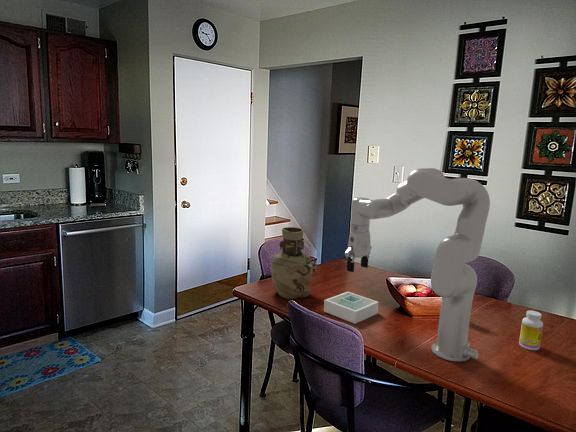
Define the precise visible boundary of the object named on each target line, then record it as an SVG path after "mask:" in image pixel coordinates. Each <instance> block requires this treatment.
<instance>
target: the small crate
mask: <svg viewBox="0 0 576 432" xmlns="http://www.w3.org/2000/svg"><path fill="white" fill-rule="evenodd" d="M340 305H342V306H345V307H348V308H350V309H353V310H357V309H360V308H362V305H363V299H361V298H358V297H355V296H352V295H349V296H346V297H343V298H341V304H340Z"/></svg>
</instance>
